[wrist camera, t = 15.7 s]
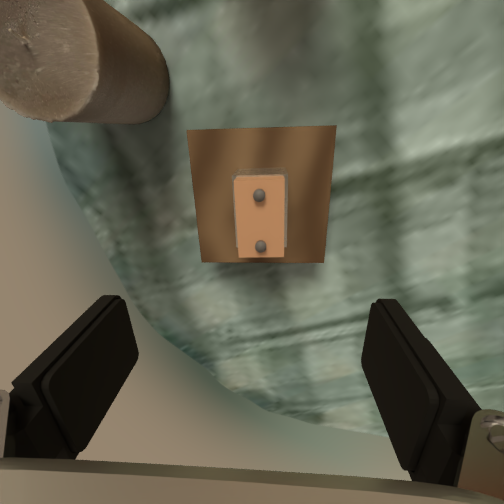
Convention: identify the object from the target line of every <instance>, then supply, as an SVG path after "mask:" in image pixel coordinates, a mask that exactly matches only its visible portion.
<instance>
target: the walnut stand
mask: <svg viewBox="0 0 504 504" xmlns="http://www.w3.org/2000/svg"><path fill="white" fill-rule="evenodd" d="M336 126H337V125H336ZM336 126H303V127H271V128H239V129H206V130H187V138H188V147H189V156H190V164H191V173H192V182H193V190H194V199H195V208H196V217H197V225H198V234H199V243H200V252H201V260H202V262H254V263H324V256H325V246H326V235H327V224H328V213H329V202H330V191H331V180H332V169H333V159H334V148H335V137H336ZM251 168H286V170H287V173H288V207H287V247H284V257H246V258H239V254H238V248H236V233H235V217H234V202H233V186H232V175H233V174H234V173H235V172H236V171H237V169H251Z"/></svg>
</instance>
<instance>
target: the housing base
mask: <svg viewBox="0 0 504 504" xmlns="http://www.w3.org/2000/svg"><path fill="white" fill-rule="evenodd" d="M262 176H284V179H285V199H284V247H287V207H288V173H287V170H286V168H251V169H237V171H236V172H235V173H234V174H233V175H232V186H233V202H234V217H235V233H236V248H238V239H237V225H236V210H235V195H234V180H235V178H236V177H262Z"/></svg>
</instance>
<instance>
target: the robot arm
mask: <svg viewBox="0 0 504 504" xmlns="http://www.w3.org/2000/svg"><path fill="white" fill-rule="evenodd" d="M138 355H139V352H138V348H137V344H136V340H135V336H134V333H133V329H132V325H131V321H130V317H129V314H128V310H127V306H126V302H125V300H123V299H121V297H120V296H118V295H103V296H101V297H100V298H99V299H98V300H97V301H96V302H95V303H94V304H93V305H92V306H91V307H90V308H89V309H88V310H86V311H85V312H84V313H83V314H82V315H81V316H80V317H79V318H78V319H77V320H76V321H75V322H74V323H73V324H72V325H71V326H70V327H69V328H68V329H67V330H66V331H65V332H64V333H63V334H62V335H60V336H59V337H58V338H57V339H56V340H55V341H54V342H53V343H52V344H51V345H50V346H49V347H48V348H47V349H46V350H45V351H44V352H43V353H42V354H41V355H40V356H38V358H36V359H35V360H34V361H33V362H32V363H31V364H30V365H29V366H28V367H27V368H26V369H25V370H24V371H23V372H22V373H21V374H20V375H19V376H18V377H17V378H16V379H15V380H14V381H12V385H13V386H14V389H13V390H12V391H11V392H10V393H8V392H7V391H5V390H0V504H504V412H501V411H497V410H492V409H483V410H482V409H481V408H480V407H479V406H478V404H477V403H476V402H475V400H474V399H473V398H472V396H471V395H470V394H469V392H468V391H467V390H466V388H465V387H464V386H463V385H462V383H461V382H460V381H459V379H458V378H457V377H456V375H455V374H454V373H453V371H452V370H451V369H450V367H449V366H448V365H447V364H446V362H445V361H444V360H443V358H442V357H441V356H440V354H439V353H438V352H437V350H436V349H435V348H434V347H433V345H432V344H431V343H430V341H429V340H428V339H427V338H425V337H424V336H423V334H422V333H421V332H420V330H419V329H418V328H417V326H416V325H415V324H414V322H413V321H412V320H411V319H410V317H409V316H408V315H407V313H406V312H405V311H404V309H403V308H402V307H401V305H400V304H399V303H398V301H397V300H396V299H377V301H376V303H372V304H371V308H370V314H369V319H368V325H367V330H366V335H365V341H364V346H363V352H362V357H361V363H362V368H363V371H364V373H365V376H366V378H367V381H368V384H369V386H370V389H371V391H372V394H373V396H374V399H375V402H376V404H377V407H378V409H379V412H380V414H381V417H382V420H383V422H384V425H385V427H386V430H387V432H388V435H389V438H390V440H391V442H392V445H393V448H394V450H395V453H396V455H397V458H398V461H399V463H400V465H401V467H402V469H404V470H407V471H408V472H409V474H410V477H411V479H412V481H404V480H392V479H380V478H368V477H357V476H342V475H325V474H312V473H295V472H281V471H265V470H249V469H233V468H215V467H198V466H182V465H163V464H147V463H128V462H108V461H90V460H75V459H76V457H77V455H78V454H79V452H82V451H83V450H84V449H85V448H86V447H87V445H88V443H89V442H90V440H91V438H92V437H93V435H94V433H95V431H96V430H97V428H98V426H99V425H100V423H101V421H102V420H103V418H104V416H105V415H106V413H107V411H108V409H109V408H110V406H111V404H112V403H113V401H114V399H115V398H116V396H117V394H118V392H119V391H120V389H121V387H122V386H123V384H124V382H125V381H126V379H127V377H128V375H129V374H130V372H131V370H132V369H133V367H134V365H135V364H136V362H137V360H138Z"/></svg>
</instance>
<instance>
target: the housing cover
mask: <svg viewBox="0 0 504 504" xmlns="http://www.w3.org/2000/svg"><path fill="white" fill-rule="evenodd" d="M234 195H235V210H236V225H237V239H238V254H239V258H246V257H284V199H285V179H284V176H262V177H236V178H235V180H234Z"/></svg>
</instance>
